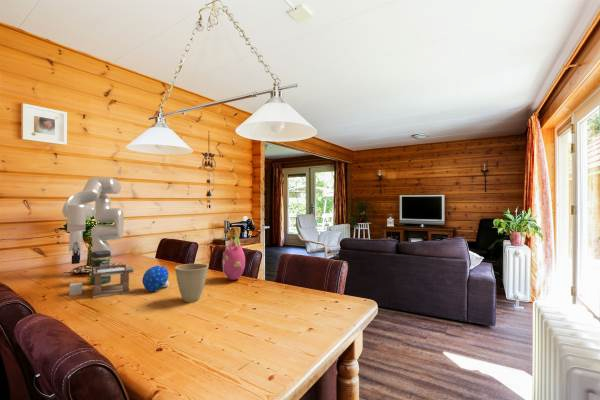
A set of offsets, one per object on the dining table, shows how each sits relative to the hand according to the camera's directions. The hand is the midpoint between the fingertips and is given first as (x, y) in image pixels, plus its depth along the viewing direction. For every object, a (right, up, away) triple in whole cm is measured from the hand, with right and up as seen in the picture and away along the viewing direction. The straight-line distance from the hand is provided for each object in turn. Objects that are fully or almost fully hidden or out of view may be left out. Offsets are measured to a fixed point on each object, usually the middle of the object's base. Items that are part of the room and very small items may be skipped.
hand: (75, 262), depth 155 cm
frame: (+14, -16, +6) cm, 22 cm away
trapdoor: (+16, -7, +7) cm, 19 cm away
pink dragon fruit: (+73, -17, +30) cm, 81 cm away
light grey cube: (0, -16, 0) cm, 16 cm away
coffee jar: (-1, -16, +21) cm, 26 cm away
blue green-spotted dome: (+37, -17, +8) cm, 41 cm away
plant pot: (+61, -17, -8) cm, 64 cm away
